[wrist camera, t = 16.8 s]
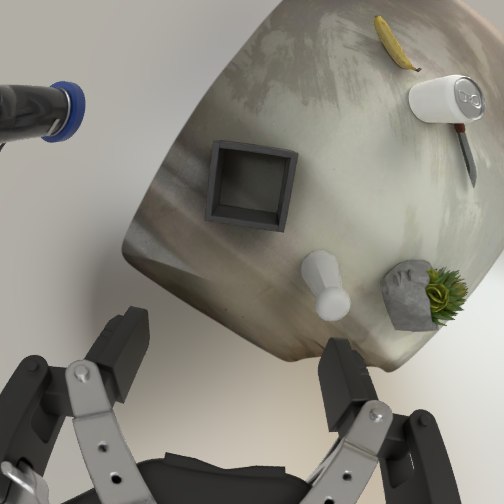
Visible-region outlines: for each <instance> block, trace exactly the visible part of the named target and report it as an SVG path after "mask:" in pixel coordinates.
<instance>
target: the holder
mask: <svg viewBox="0 0 504 504" xmlns="http://www.w3.org/2000/svg"><path fill="white" fill-rule="evenodd" d="M226 149H232V150H240V151H248V152H255V153H261V154H268V155H274V156H280V157H286V158H287V159H286V165H285V171H284V177H283V182H282V188H281V194H280V200H279V205H278V211H277V213H272V212H266V211H260V210H253V209H247V208H240V207H233V206H226V205H219V200H220V191H221V183H222V175H223V167H224V159H225V151H226ZM297 158H298V153H297V152H295V151H291V150H286V149H280V148H274V147H268V146H261V145H254V144H247V143H239V142H231V141H223V140H220V141H213V148H212V156H211V164H210V172H209V181H208V190H207V200H206V210H205V221H211V222H217V223H224V224H231V225H238V226H244V227H251V228H258V229H264V230H270V231H278V232H283V233H284V229H285V224H286V219H287V214H288V208H289V203H290V197H291V192H292V187H293V181H294V175H295V170H296V164H297Z"/></svg>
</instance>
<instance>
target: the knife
mask: <svg viewBox="0 0 504 504" xmlns="http://www.w3.org/2000/svg"><path fill="white" fill-rule="evenodd" d="M454 128H455V130H456V133H457V134H458V138H459V142H460V145H461V149H462V152H463V156H464V160H465V163H466V167H467V170H468V173H469V176H470V179H471V182H472V185H473V188H474V187H475V183H476V167H475V163H474V160H473V157H472V153H471V150H470V147H469V144H468V140H467V137H466V134H465V125H464V123H454Z"/></svg>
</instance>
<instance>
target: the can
mask: <svg viewBox="0 0 504 504" xmlns="http://www.w3.org/2000/svg"><path fill="white" fill-rule="evenodd" d="M409 104H410V107H411V110H412V111H413V113H414V114H415V116H416V117H417V118H419V119H420V120H421V121H424V122H428V123H472V122H474V121H475V120H479V119H480V118H481V117H482V116H483V114H484V111H485V99H484V96H483V93H482V91H481V89H480V87H479V86H478V84H477V83H476V82H475V81H474V80H473V79H471V78H469V77H466V76H461V75H450V76H446V77H441V78H437V79H433V80H429V81H425V82H422V83H418V84H416V85H414V86H413V87H412V88H411V90H410V92H409Z"/></svg>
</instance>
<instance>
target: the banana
mask: <svg viewBox="0 0 504 504" xmlns="http://www.w3.org/2000/svg"><path fill="white" fill-rule="evenodd" d="M374 26H375V29H376V31H377V34H378V36H379V37H380V39H381V41H382V43H383V45H384V46H385V48H386V50H387V51H388V53H389V54H390V56H391V57H392V58H393V60H394V61H395V62H396V63H397V64H398V65H399V66H400V67H402V68H404V69H412V70H415V71H417V72H419V71H420V70H421V68H418V70H417V69H416V68H414V67H413V66H412V64H411V63H410V61H409V60H408V58H407V57H406V55H405V54H404V52H403V50H402V48H401V46H400V45H399V43H398V42H397V40H396V39H395V37H394V35H393V33H392V31H391V30H390V28H389V26H388V25H387V23H386V22H385V20H384V19H383V18H382V17H380V16H379V15H378V16H375V17H374Z"/></svg>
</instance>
